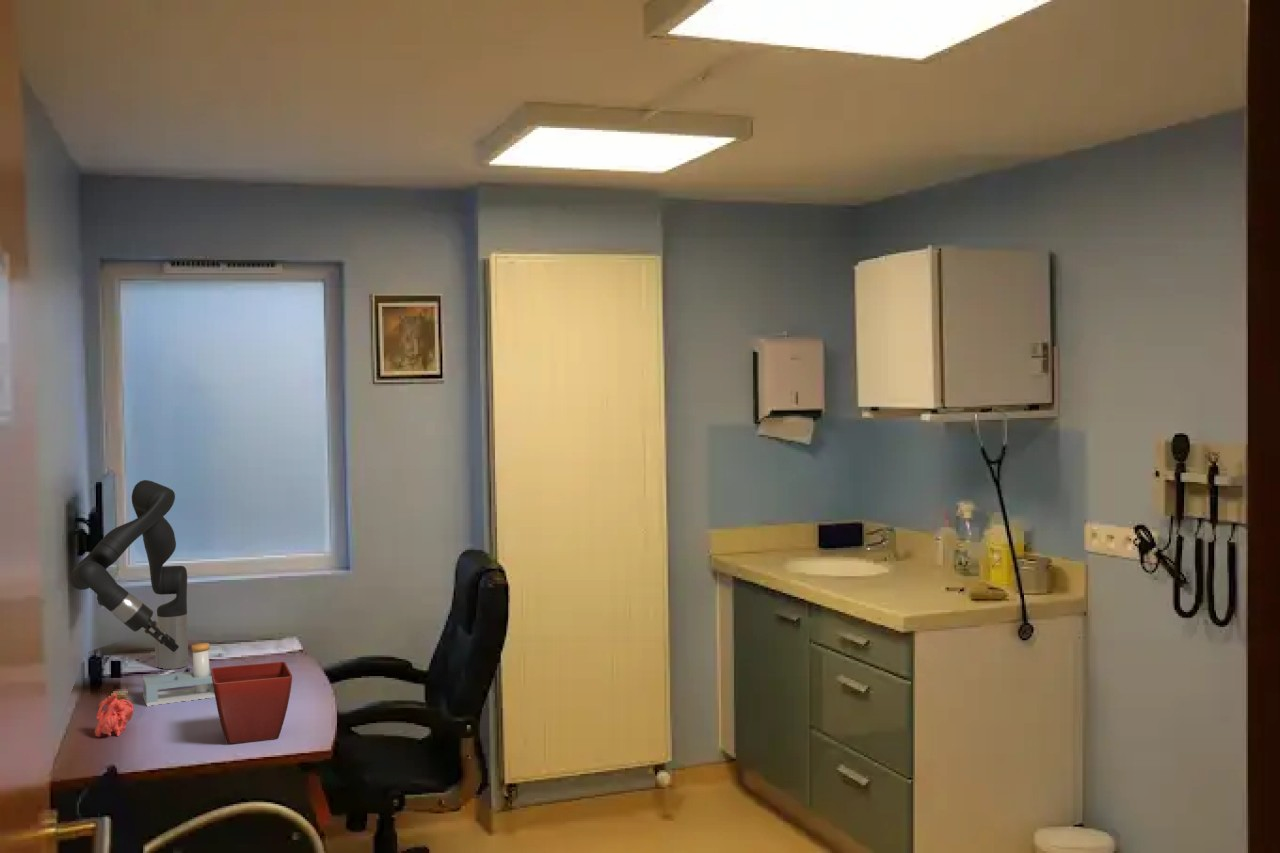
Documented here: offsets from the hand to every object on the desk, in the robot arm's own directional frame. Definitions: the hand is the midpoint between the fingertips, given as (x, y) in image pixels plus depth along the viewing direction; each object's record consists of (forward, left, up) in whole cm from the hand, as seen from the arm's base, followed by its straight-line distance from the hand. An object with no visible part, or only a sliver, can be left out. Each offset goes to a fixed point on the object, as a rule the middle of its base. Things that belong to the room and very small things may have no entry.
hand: (174, 646), depth 341 cm
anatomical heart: (+6, -35, -15) cm, 39 cm away
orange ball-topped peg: (+6, +5, -14) cm, 16 cm away
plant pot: (+43, -30, -15) cm, 55 cm away
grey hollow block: (+2, +2, -15) cm, 15 cm away
